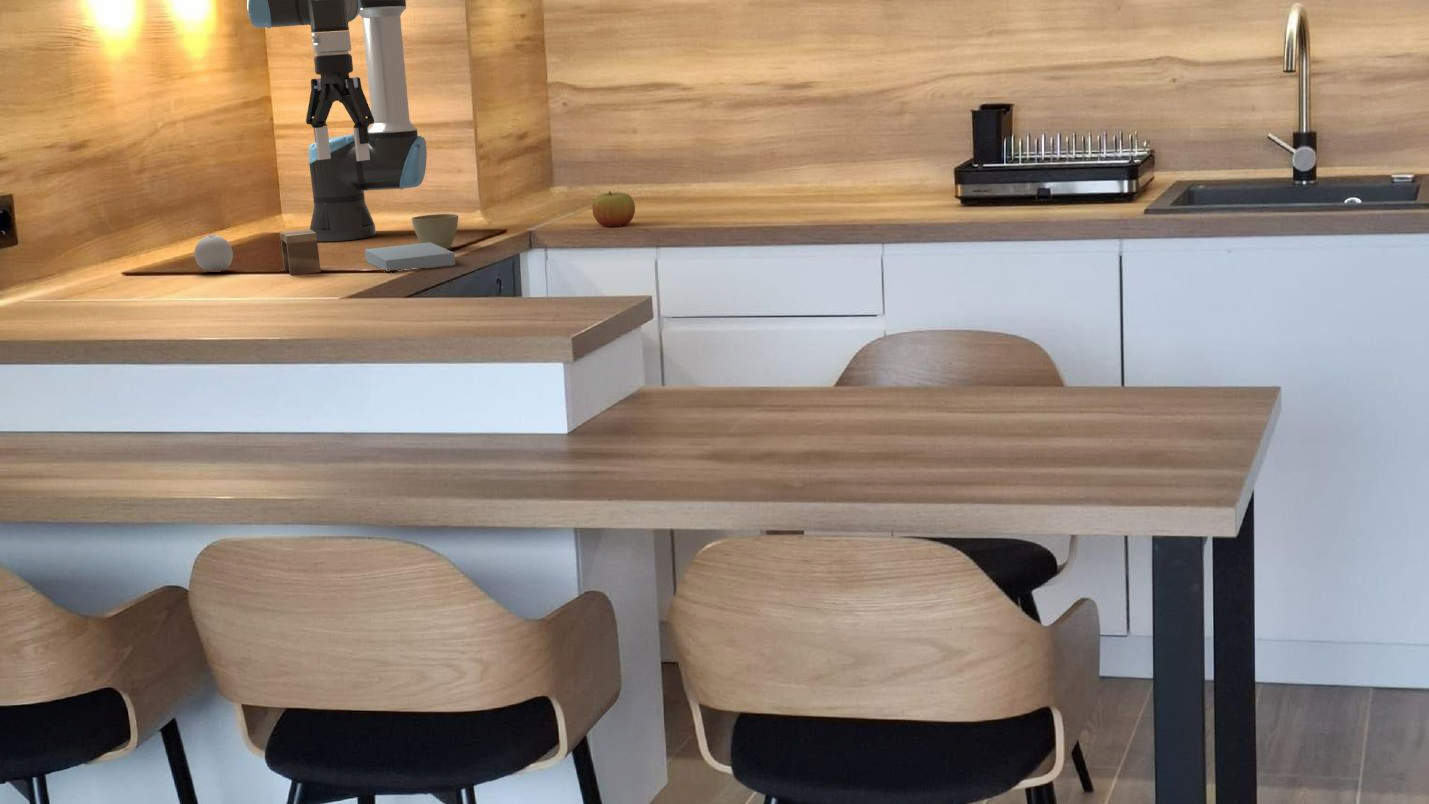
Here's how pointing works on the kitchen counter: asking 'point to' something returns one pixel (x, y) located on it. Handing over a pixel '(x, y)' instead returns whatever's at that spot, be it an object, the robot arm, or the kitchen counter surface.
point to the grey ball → (213, 253)
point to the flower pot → (436, 228)
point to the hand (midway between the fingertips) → (343, 160)
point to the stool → (300, 251)
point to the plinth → (410, 256)
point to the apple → (613, 209)
